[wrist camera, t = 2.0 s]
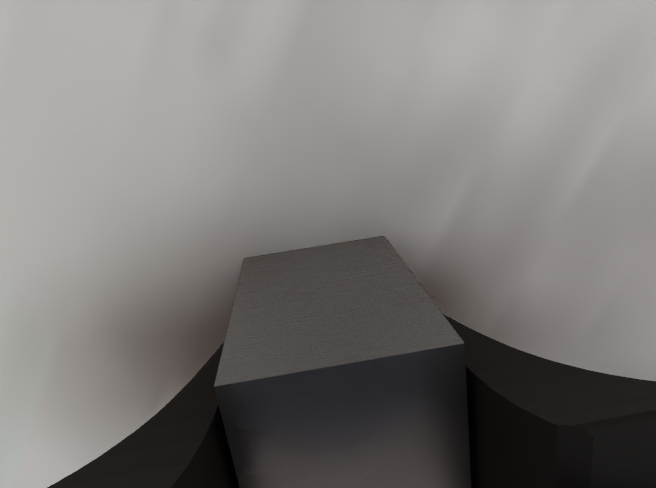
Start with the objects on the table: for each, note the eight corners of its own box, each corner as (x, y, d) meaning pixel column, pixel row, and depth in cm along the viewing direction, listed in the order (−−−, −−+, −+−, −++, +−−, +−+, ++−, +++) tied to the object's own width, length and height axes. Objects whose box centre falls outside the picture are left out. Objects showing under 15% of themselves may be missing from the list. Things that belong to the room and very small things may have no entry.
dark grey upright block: (384, 235, 13) (464, 343, 7) (399, 384, 15) (474, 567, 9) (243, 258, 13) (214, 386, 7) (274, 406, 14) (269, 609, 9)
